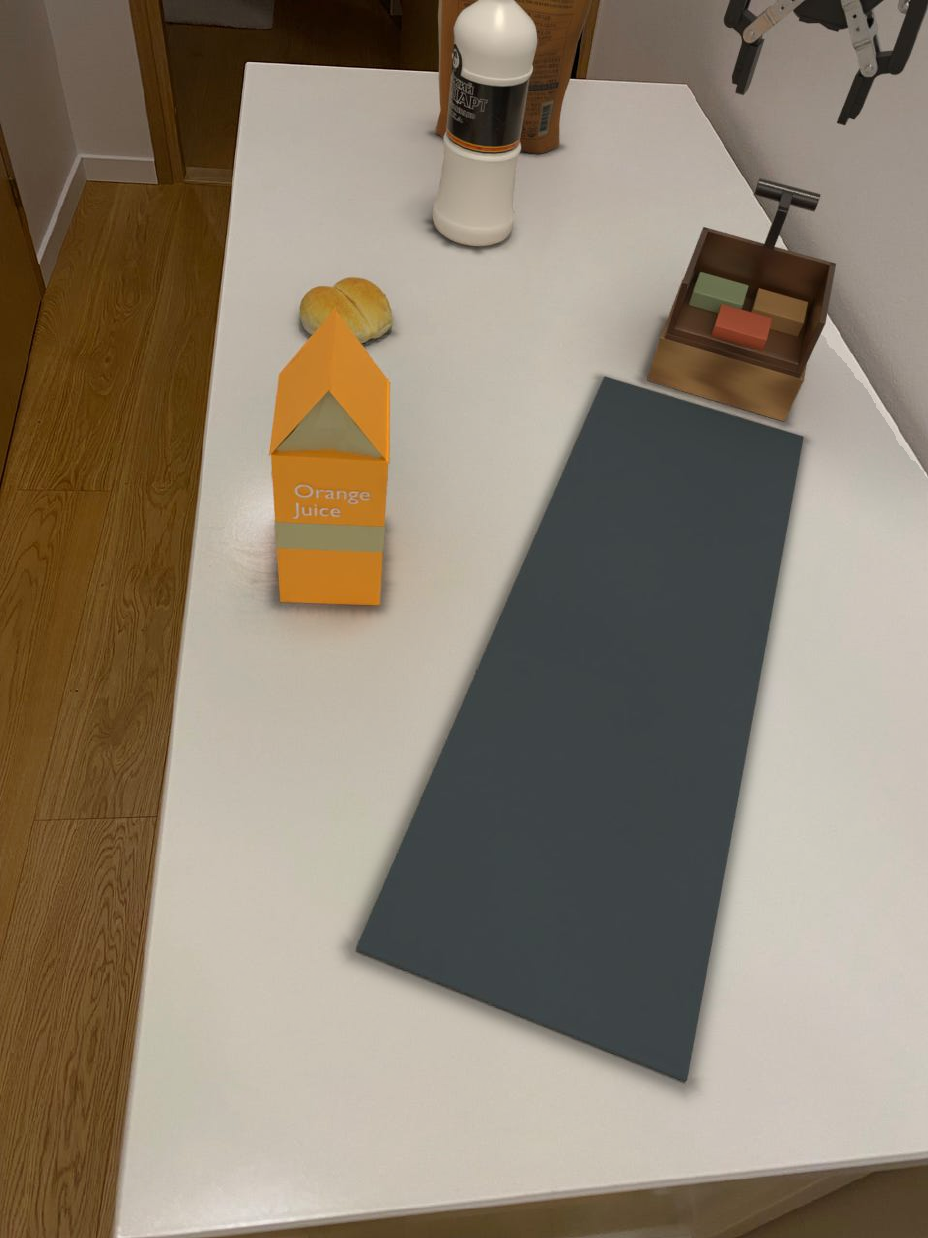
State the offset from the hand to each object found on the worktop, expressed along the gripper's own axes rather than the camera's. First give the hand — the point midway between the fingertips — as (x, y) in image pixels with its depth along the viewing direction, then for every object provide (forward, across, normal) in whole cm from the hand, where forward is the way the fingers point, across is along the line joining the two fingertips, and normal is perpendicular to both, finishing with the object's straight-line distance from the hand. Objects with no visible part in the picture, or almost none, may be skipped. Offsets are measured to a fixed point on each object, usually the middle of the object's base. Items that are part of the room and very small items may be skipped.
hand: (791, 105), depth 77 cm
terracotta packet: (+20, -3, +2) cm, 20 cm away
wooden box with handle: (+20, -2, -3) cm, 21 cm away
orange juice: (+26, +18, +43) cm, 53 cm away
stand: (+26, -2, -1) cm, 26 cm away
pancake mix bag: (+26, +38, -32) cm, 55 cm away
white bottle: (+26, +31, -10) cm, 41 cm away
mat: (+26, -6, +37) cm, 45 cm away
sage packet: (+20, +1, -3) cm, 20 cm away
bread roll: (+26, +33, +14) cm, 44 cm away
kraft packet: (+20, -5, -4) cm, 21 cm away
